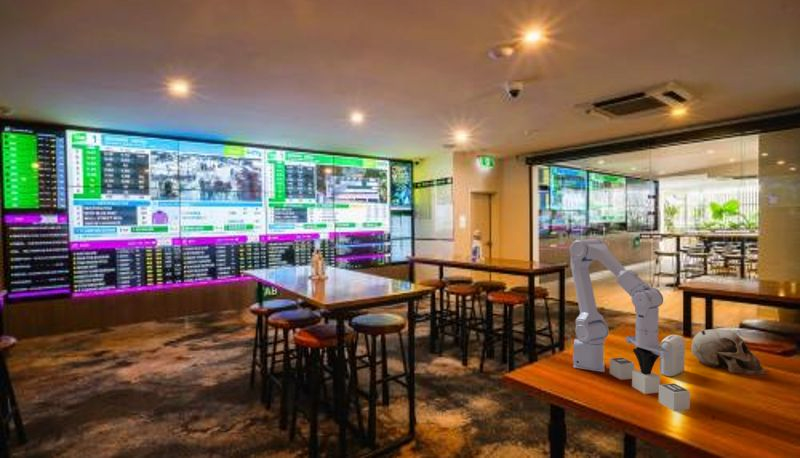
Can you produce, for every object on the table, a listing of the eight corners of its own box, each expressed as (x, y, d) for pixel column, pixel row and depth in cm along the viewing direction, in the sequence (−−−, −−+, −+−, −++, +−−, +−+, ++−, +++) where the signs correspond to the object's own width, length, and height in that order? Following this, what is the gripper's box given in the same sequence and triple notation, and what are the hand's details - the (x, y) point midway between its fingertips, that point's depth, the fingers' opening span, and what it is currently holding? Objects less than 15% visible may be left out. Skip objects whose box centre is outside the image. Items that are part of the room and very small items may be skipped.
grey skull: (772, 374, 129) (768, 333, 129) (721, 381, 129) (717, 340, 128) (731, 357, 145) (727, 321, 145) (685, 364, 144) (681, 327, 144)
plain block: (632, 386, 122) (632, 370, 122) (646, 385, 123) (646, 369, 123) (644, 394, 117) (645, 377, 117) (659, 392, 118) (659, 376, 118)
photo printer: (671, 366, 137) (672, 331, 136) (686, 370, 133) (687, 334, 133) (657, 373, 131) (658, 336, 130) (672, 378, 128) (673, 340, 127)
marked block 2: (658, 402, 112) (658, 383, 112) (673, 400, 113) (674, 382, 113) (673, 411, 107) (674, 391, 107) (689, 409, 108) (689, 390, 108)
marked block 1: (609, 373, 132) (609, 357, 132) (622, 372, 133) (623, 356, 133) (620, 379, 127) (620, 363, 127) (634, 378, 128) (634, 362, 128)
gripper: (679, 335, 113) (678, 382, 113) (639, 321, 127) (639, 363, 128) (657, 337, 112) (656, 384, 112) (620, 322, 126) (619, 365, 127)
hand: (645, 373), depth 120 cm, fingers closed, pressing on plain block
